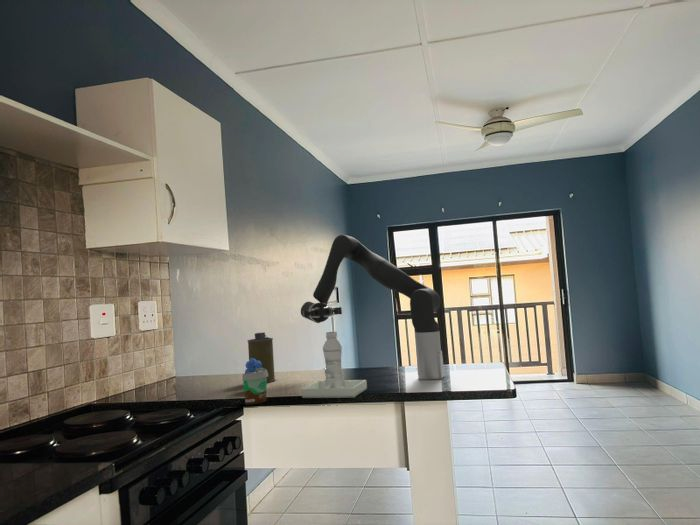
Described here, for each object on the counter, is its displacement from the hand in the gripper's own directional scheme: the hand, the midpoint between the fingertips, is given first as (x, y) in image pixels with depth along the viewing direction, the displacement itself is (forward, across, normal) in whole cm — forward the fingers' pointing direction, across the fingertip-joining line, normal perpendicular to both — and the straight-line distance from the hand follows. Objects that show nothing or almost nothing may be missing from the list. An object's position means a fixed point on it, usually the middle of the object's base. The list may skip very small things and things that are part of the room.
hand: (325, 312), depth 187 cm
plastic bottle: (+11, 0, +27) cm, 29 cm away
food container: (+10, -26, +27) cm, 39 cm away
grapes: (-11, -27, +27) cm, 40 cm away
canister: (-32, -23, +27) cm, 48 cm away
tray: (+11, 0, +27) cm, 29 cm away
